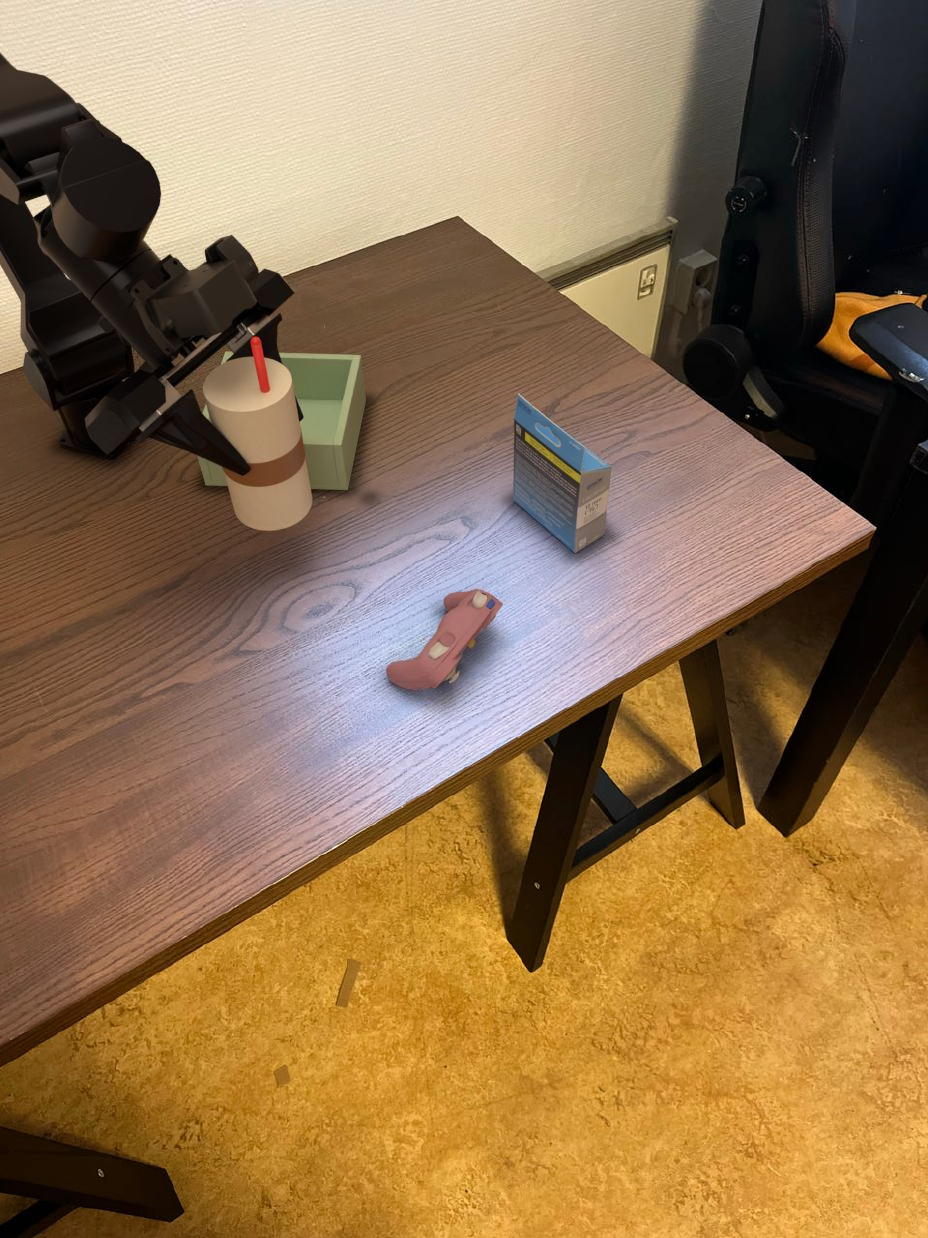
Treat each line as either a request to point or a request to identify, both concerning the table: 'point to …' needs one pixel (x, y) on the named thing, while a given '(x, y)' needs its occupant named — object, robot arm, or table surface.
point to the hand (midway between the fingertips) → (274, 446)
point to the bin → (319, 416)
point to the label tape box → (558, 479)
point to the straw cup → (261, 439)
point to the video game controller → (447, 641)
